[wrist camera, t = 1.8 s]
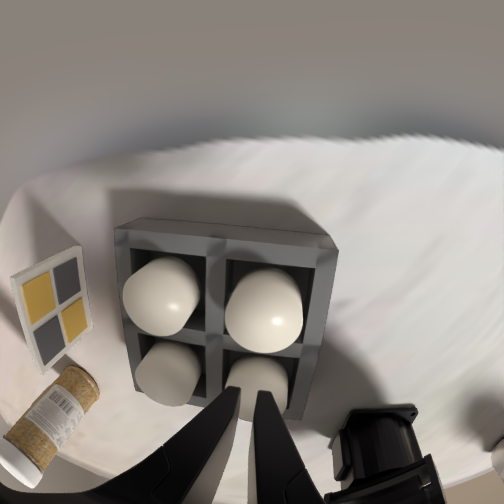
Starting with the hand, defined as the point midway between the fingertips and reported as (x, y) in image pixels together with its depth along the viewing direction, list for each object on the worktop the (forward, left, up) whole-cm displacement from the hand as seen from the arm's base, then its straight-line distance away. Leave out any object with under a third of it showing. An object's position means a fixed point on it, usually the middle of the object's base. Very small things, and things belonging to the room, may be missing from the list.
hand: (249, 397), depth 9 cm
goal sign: (+14, +3, -10) cm, 18 cm away
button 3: (+5, +5, -7) cm, 11 cm away
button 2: (0, 0, -7) cm, 7 cm away
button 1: (0, +5, -7) cm, 9 cm away
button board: (+3, +3, -10) cm, 11 cm away
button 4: (+5, 0, -7) cm, 9 cm away
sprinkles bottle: (+17, +14, -10) cm, 24 cm away
